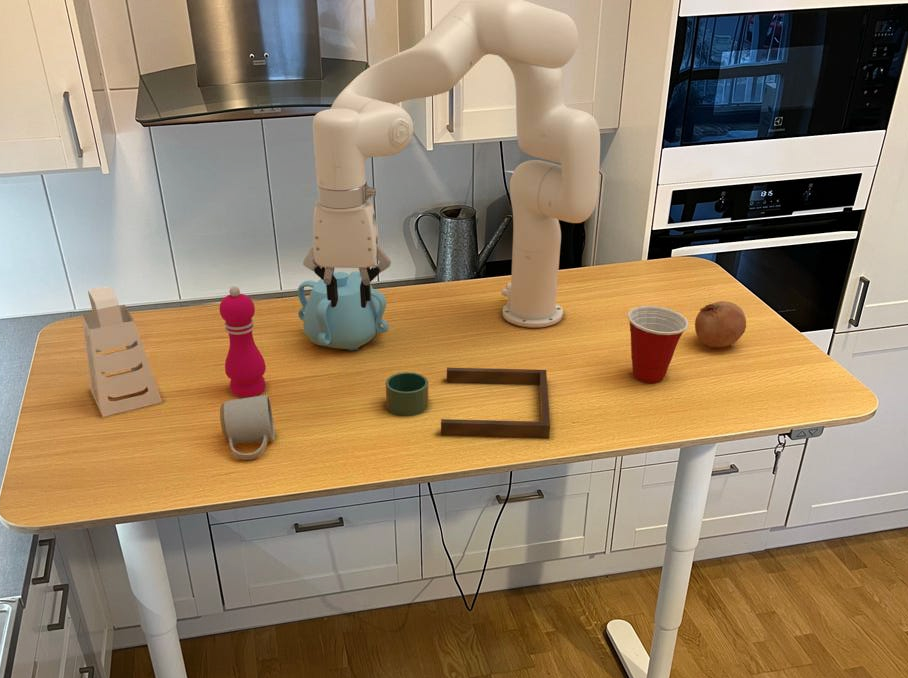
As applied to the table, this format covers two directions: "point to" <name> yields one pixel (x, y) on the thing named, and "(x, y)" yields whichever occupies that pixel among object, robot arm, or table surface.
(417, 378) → the green cup
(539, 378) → the walnut bay
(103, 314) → the grater
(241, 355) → the pepper mill
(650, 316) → the plastic cup
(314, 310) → the decorative pot
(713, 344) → the onion
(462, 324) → the table surface
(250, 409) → the ceramic mug
